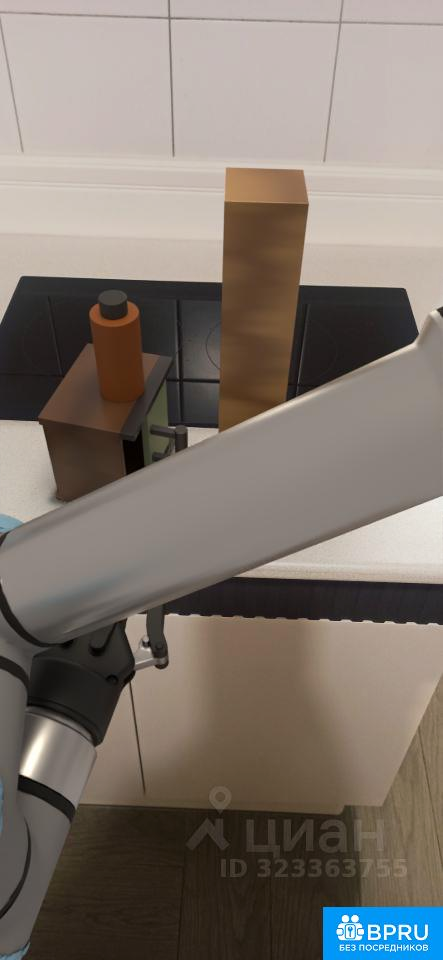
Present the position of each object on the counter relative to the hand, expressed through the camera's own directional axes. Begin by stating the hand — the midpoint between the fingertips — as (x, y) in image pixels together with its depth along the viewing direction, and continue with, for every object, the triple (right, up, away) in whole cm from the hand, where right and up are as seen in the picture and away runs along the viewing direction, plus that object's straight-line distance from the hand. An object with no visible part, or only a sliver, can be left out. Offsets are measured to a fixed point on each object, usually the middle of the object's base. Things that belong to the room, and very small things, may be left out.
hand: (154, 490), depth 62 cm
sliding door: (+1, +3, +14) cm, 15 cm away
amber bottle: (-4, +10, +6) cm, 13 cm away
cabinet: (-6, +3, +15) cm, 17 cm away
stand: (+9, -1, +12) cm, 15 cm away
